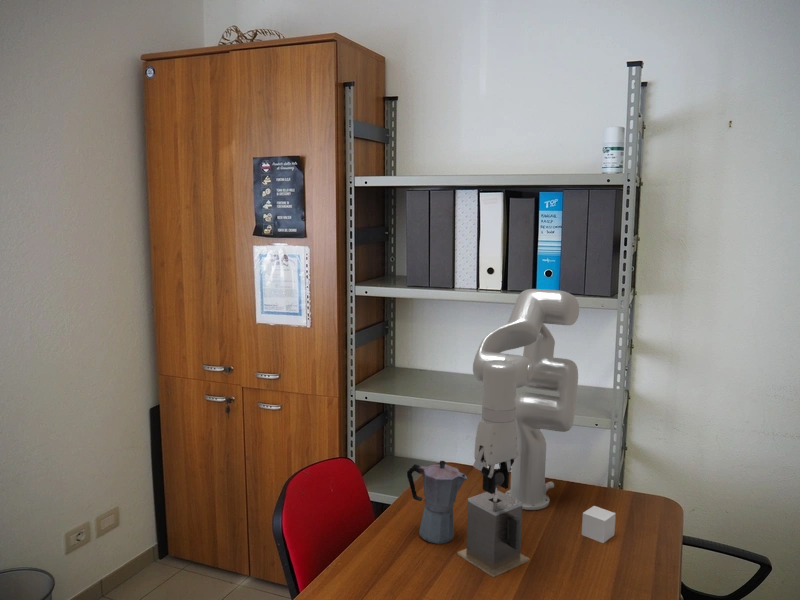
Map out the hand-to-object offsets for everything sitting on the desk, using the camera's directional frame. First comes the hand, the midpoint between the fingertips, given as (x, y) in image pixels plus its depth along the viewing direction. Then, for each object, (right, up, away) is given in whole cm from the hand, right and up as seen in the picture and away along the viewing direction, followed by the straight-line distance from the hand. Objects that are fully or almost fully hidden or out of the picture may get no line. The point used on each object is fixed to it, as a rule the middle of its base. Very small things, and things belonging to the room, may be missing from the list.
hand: (495, 488), depth 147 cm
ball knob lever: (0, -12, +2) cm, 12 cm away
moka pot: (-14, -16, +12) cm, 24 cm away
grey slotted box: (0, -17, +2) cm, 17 cm away
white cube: (+28, -16, +14) cm, 36 cm away
